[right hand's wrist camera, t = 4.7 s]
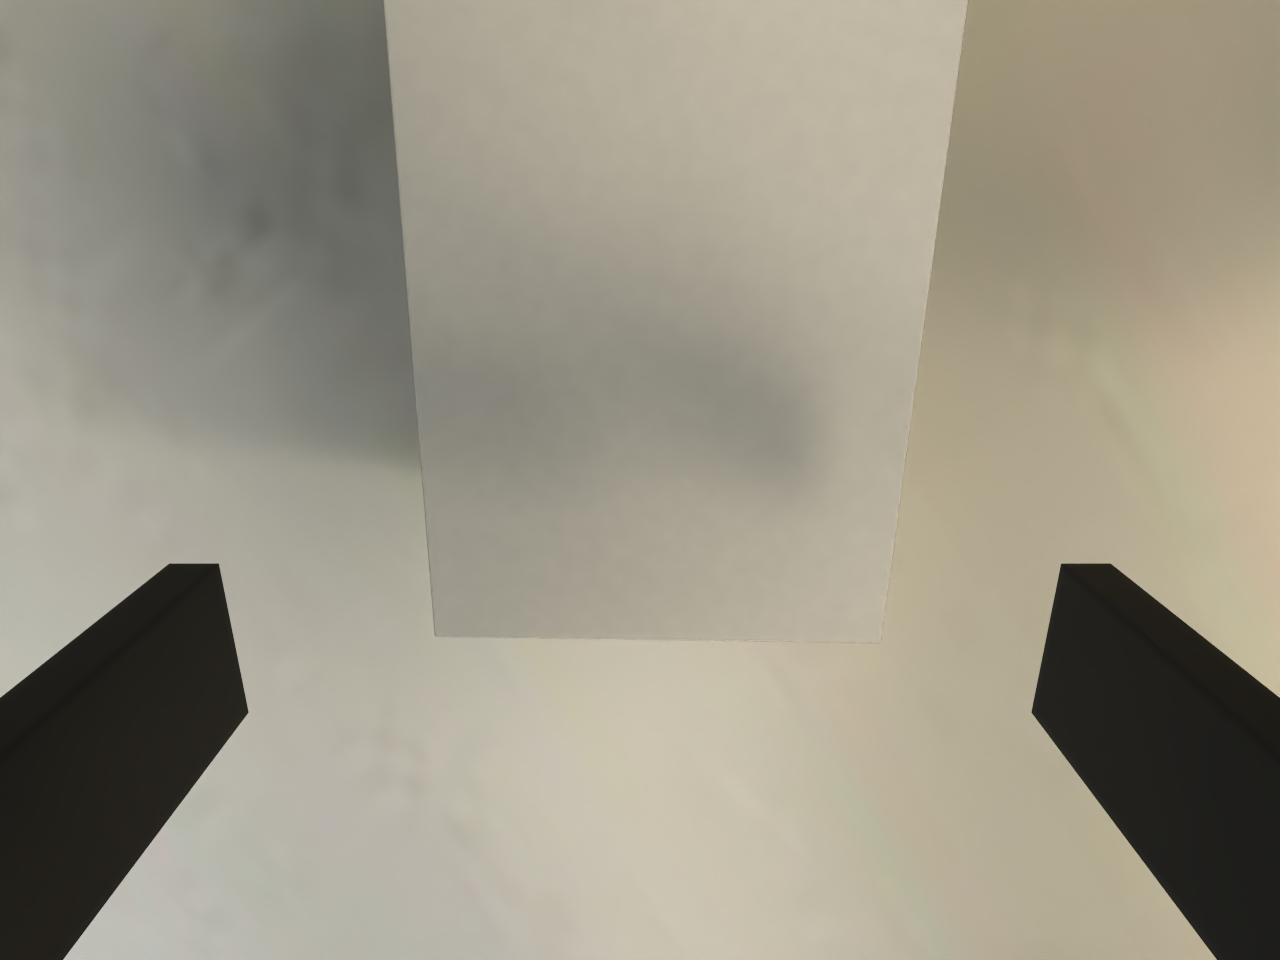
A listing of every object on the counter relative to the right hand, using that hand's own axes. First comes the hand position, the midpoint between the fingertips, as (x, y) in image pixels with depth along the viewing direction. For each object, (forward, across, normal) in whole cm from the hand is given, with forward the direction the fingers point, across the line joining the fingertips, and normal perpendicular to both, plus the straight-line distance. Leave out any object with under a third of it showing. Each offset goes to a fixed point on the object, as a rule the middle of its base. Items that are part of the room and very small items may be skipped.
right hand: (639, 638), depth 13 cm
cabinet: (+16, -1, -7) cm, 18 cm away
